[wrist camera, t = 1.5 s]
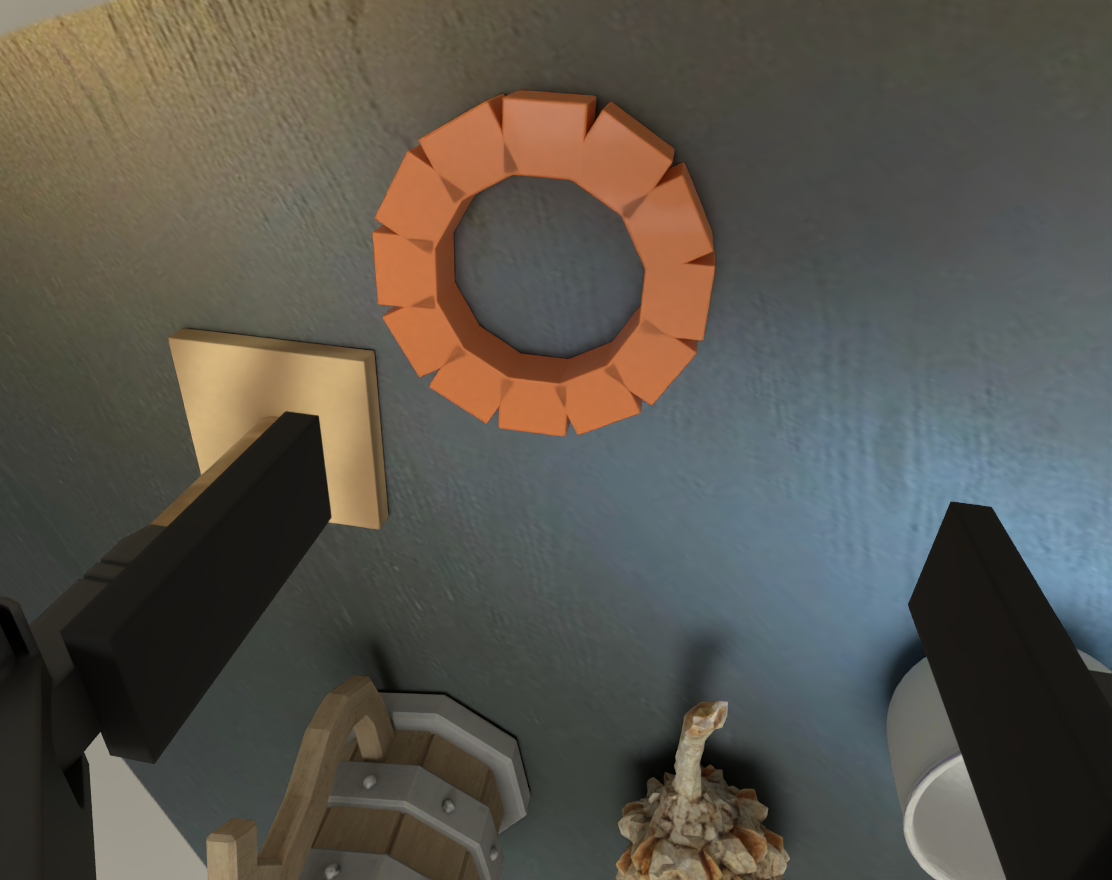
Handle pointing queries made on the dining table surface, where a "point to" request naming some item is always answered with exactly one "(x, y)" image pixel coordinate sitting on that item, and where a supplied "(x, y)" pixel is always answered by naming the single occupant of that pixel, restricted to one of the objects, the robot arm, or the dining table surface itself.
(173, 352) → the rack
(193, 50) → the dining table surface
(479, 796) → the tankard
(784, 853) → the pine cone
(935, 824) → the teacup
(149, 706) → the robot arm
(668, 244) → the ring
